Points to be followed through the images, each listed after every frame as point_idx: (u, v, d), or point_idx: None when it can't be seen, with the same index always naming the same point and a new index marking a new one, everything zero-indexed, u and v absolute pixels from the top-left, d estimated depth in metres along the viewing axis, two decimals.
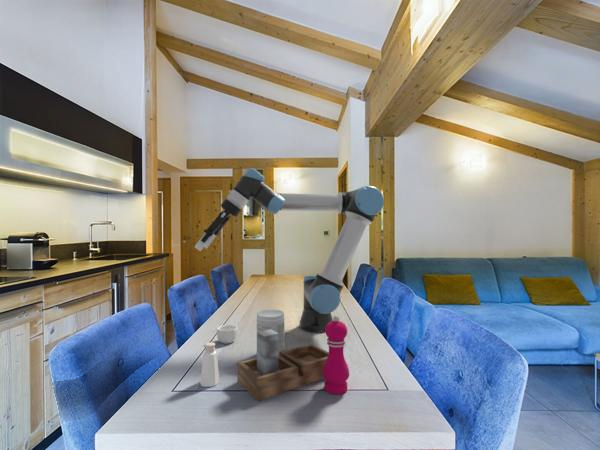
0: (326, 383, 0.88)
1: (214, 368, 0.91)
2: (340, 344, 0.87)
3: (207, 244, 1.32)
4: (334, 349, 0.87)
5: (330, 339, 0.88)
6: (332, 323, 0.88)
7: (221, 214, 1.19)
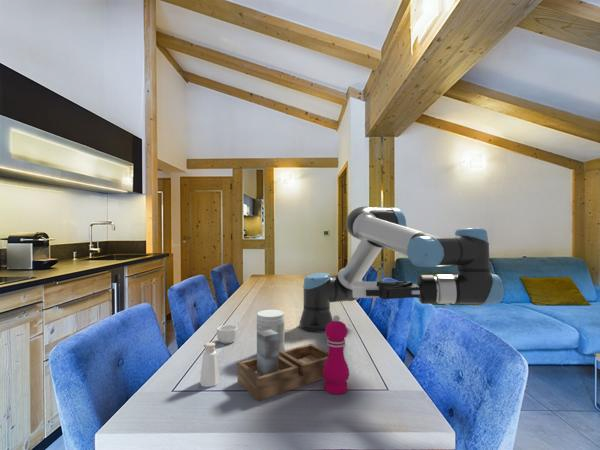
0: (326, 383, 0.88)
1: (214, 368, 0.91)
2: (340, 344, 0.87)
3: None
4: (334, 349, 0.87)
5: (330, 339, 0.88)
6: (332, 323, 0.88)
7: None
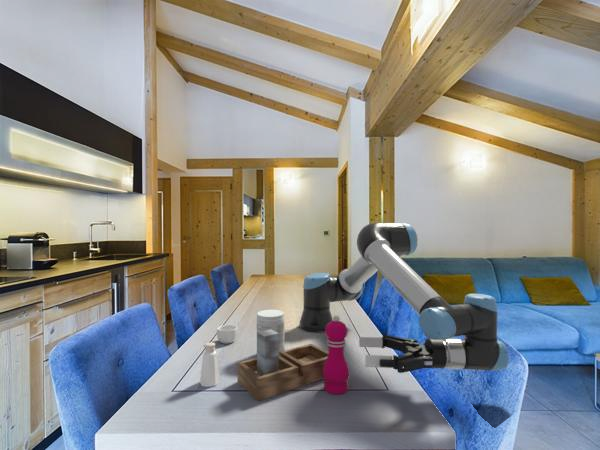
0: (326, 383, 0.88)
1: (214, 368, 0.91)
2: (340, 344, 0.87)
3: None
4: (334, 349, 0.87)
5: (330, 339, 0.88)
6: (332, 323, 0.88)
7: None
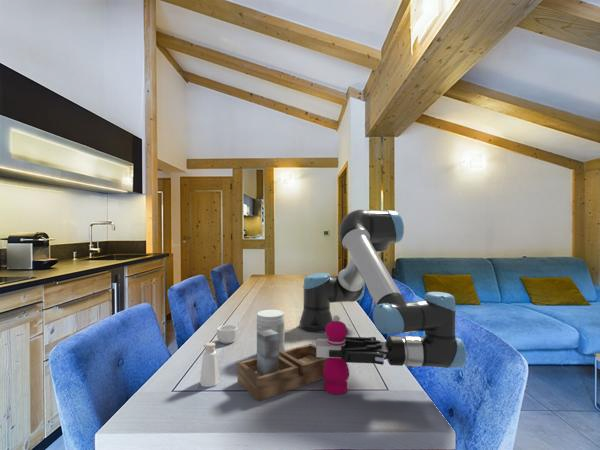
0: (326, 383, 0.88)
1: (214, 368, 0.91)
2: (340, 344, 0.87)
3: None
4: None
5: (330, 339, 0.88)
6: (332, 323, 0.88)
7: None
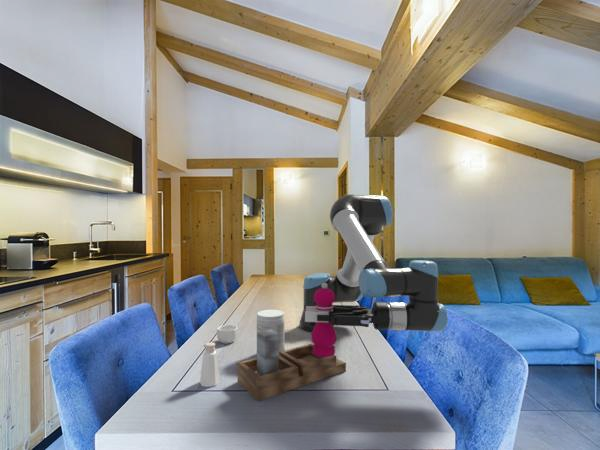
0: (314, 347, 0.92)
1: (214, 368, 0.91)
2: (328, 309, 0.91)
3: None
4: None
5: (318, 305, 0.91)
6: (320, 290, 0.91)
7: None
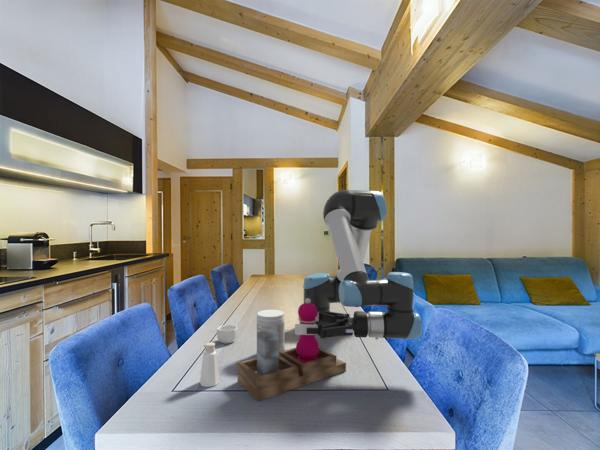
0: (298, 358, 0.98)
1: (214, 368, 0.91)
2: (311, 323, 0.97)
3: None
4: None
5: (302, 319, 0.98)
6: (304, 305, 0.98)
7: None
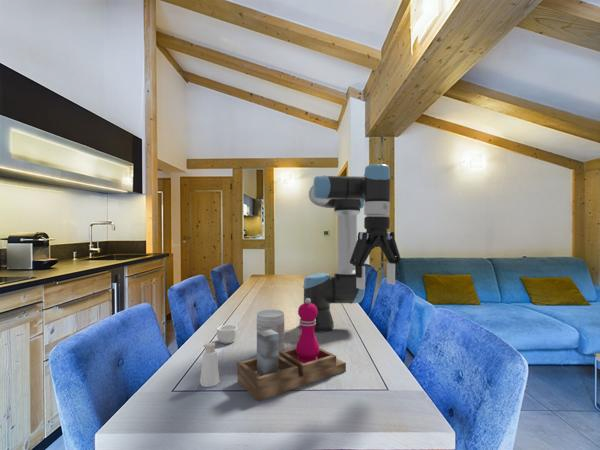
0: (298, 358, 0.98)
1: (214, 368, 0.91)
2: (311, 323, 0.97)
3: None
4: (305, 327, 0.97)
5: (302, 319, 0.98)
6: (304, 305, 0.98)
7: None
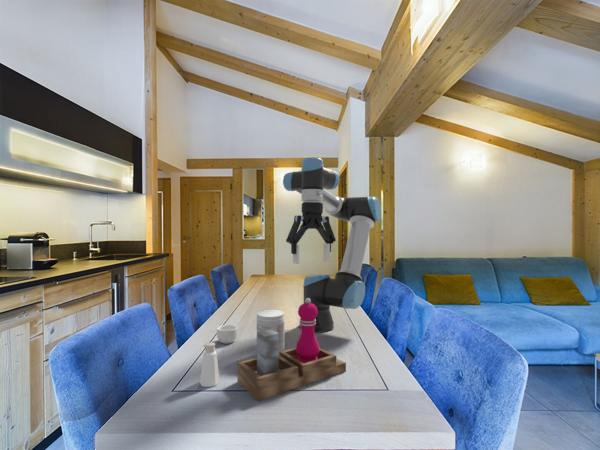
0: (298, 358, 0.98)
1: (214, 368, 0.91)
2: (311, 323, 0.97)
3: None
4: (305, 327, 0.97)
5: (302, 319, 0.98)
6: (304, 305, 0.98)
7: None
